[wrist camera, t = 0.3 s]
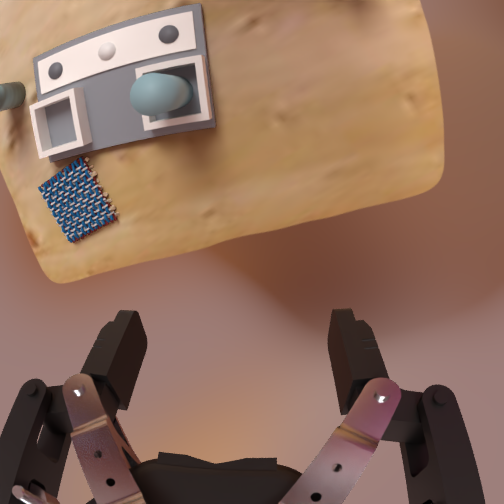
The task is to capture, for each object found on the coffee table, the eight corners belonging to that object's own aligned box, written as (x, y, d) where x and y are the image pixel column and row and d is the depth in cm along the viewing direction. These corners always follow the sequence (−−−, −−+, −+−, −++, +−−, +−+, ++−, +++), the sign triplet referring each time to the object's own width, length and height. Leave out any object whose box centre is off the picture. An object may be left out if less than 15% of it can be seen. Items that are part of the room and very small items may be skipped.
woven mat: (74, 241, 44) (69, 247, 42) (41, 184, 39) (34, 189, 37) (123, 216, 42) (118, 221, 40) (88, 151, 37) (81, 154, 35)
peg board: (37, 58, 29) (-15, 60, 20) (201, 5, 28) (182, -24, 18) (53, 160, 37) (7, 186, 27) (216, 126, 36) (202, 140, 26)
